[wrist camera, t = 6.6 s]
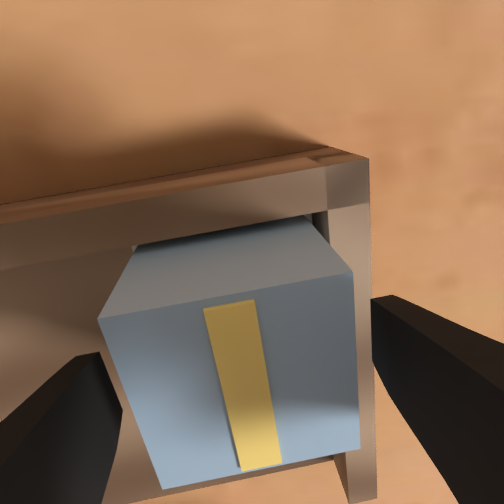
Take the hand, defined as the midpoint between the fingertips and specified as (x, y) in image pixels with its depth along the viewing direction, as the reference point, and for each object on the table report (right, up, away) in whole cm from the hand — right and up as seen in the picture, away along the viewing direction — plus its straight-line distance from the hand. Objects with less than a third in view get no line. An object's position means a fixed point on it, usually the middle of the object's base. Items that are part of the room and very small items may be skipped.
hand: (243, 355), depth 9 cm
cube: (0, +2, +3) cm, 3 cm away
